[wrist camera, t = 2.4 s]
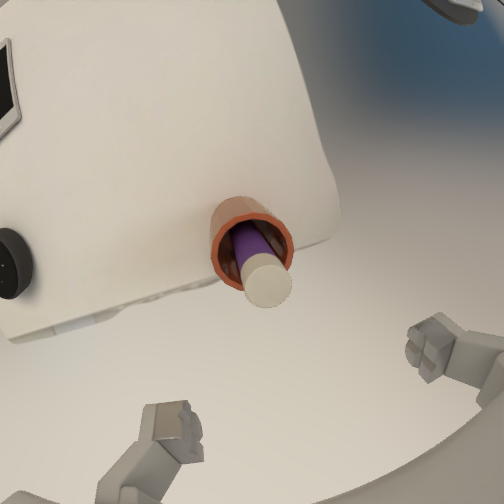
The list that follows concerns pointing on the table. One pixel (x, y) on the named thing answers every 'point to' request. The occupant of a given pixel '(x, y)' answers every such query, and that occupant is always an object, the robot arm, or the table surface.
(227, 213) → the pencil cup
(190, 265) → the table surface
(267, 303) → the glue stick
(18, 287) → the smart speaker
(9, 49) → the smartphone
